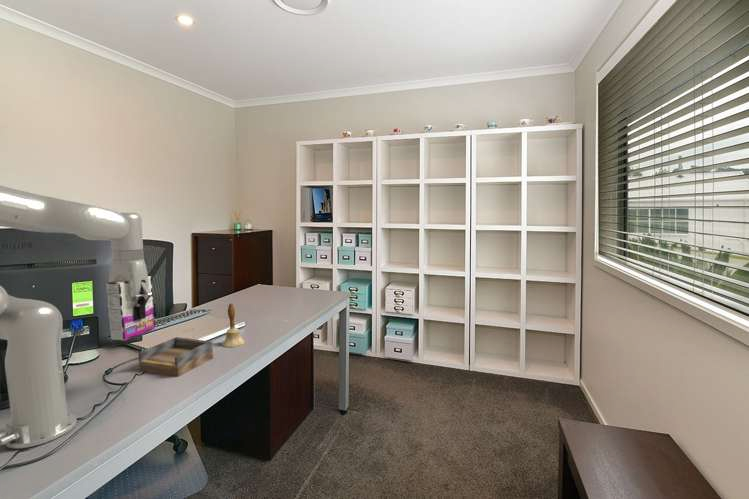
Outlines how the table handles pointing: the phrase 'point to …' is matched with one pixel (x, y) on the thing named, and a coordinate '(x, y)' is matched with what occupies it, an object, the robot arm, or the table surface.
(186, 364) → the wooden tray
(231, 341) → the hand bell
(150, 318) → the candy bar box
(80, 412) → the table surface
